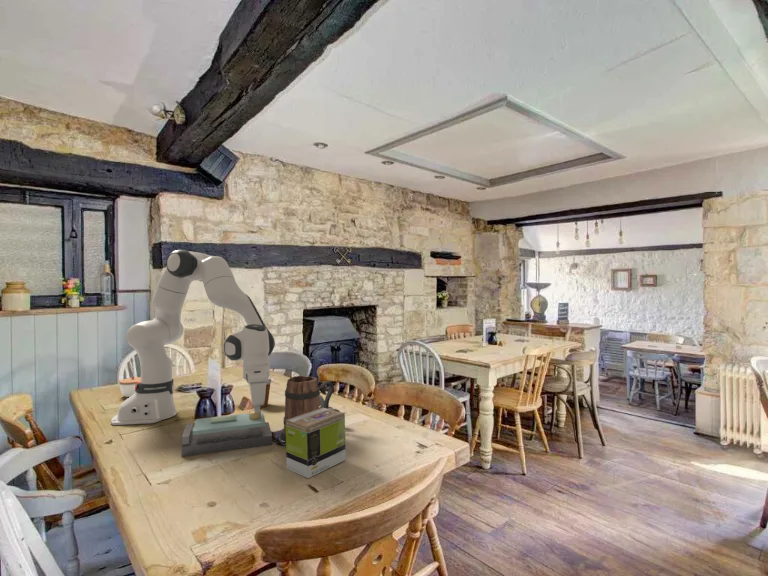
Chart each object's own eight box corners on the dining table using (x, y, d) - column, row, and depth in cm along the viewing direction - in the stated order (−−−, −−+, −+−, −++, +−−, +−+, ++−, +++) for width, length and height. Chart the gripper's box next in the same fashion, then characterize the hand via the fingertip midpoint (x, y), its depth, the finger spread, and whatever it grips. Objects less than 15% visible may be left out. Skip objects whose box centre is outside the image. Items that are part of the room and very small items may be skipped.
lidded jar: (121, 394, 194) (121, 375, 194) (147, 391, 198) (147, 372, 198) (117, 400, 184) (117, 379, 184) (144, 397, 189) (144, 377, 189)
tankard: (289, 448, 130) (289, 387, 130) (270, 433, 144) (270, 377, 144) (351, 433, 144) (351, 377, 144) (328, 420, 158) (328, 369, 158)
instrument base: (181, 456, 124) (181, 438, 124) (186, 440, 137) (186, 423, 137) (271, 444, 134) (271, 427, 134) (268, 430, 147) (268, 414, 147)
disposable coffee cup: (267, 409, 171) (267, 381, 171) (245, 408, 172) (245, 380, 172) (274, 402, 181) (274, 375, 181) (253, 402, 181) (253, 375, 181)
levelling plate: (192, 435, 126) (192, 424, 126) (196, 422, 137) (195, 413, 137) (265, 426, 134) (265, 416, 134) (263, 415, 145) (262, 406, 145)
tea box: (323, 452, 128) (323, 406, 128) (346, 461, 121) (346, 412, 121) (284, 469, 116) (284, 418, 116) (307, 480, 110) (307, 426, 110)
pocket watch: (334, 409, 172) (334, 385, 172) (330, 415, 163) (330, 390, 163) (316, 408, 172) (316, 385, 172) (310, 414, 164) (310, 390, 164)
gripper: (245, 367, 147) (246, 404, 147) (247, 379, 128) (248, 422, 128) (263, 365, 149) (264, 402, 149) (268, 377, 130) (269, 419, 130)
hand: (257, 412), depth 138 cm, fingers closed, pressing on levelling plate
